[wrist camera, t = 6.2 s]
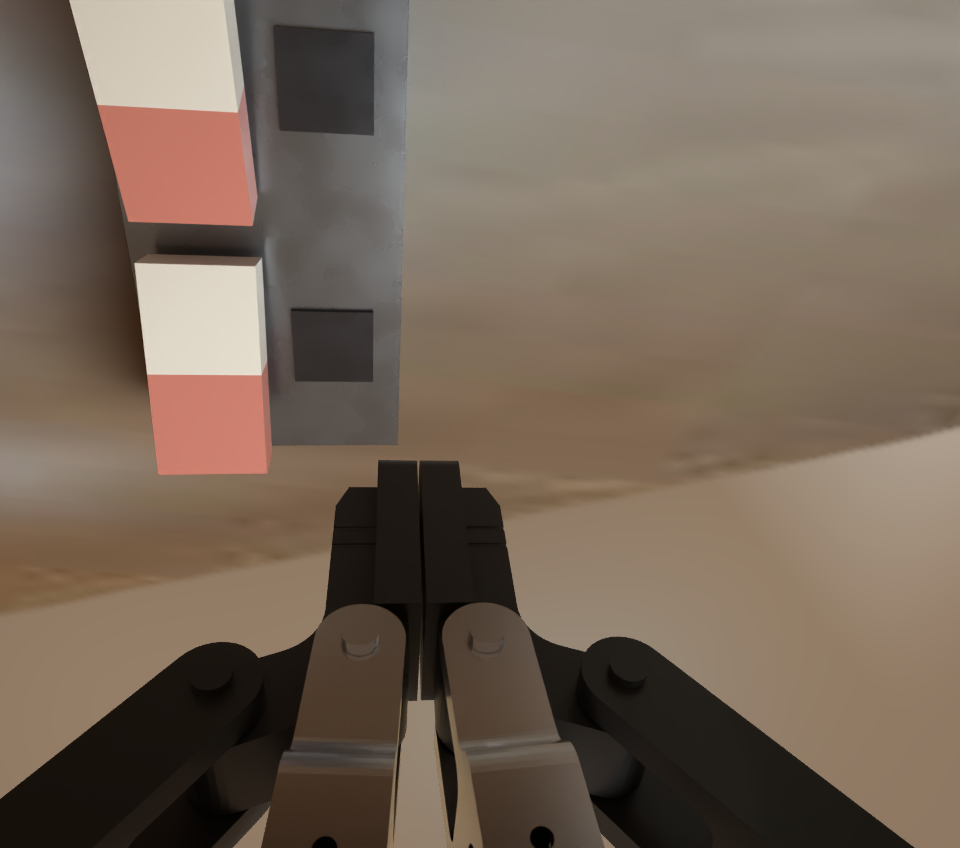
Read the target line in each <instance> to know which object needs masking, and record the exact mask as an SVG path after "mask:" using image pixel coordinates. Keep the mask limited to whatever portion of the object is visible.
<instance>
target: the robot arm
mask: <svg viewBox="0 0 960 848" xmlns="http://www.w3.org/2000/svg"><path fill="white" fill-rule="evenodd" d="M419 653H420V684H421V700H434V702H435V703H434V704H435V733H434V749H435V757H436V765H437V772H438V780H439V788H440V796H441V804H442V812H443V820H444V828H445V835H446V844H447V848H605V847H604V844H603V840H602V837H601V834H602V835H603V836H604V837H605V838H606V839H607V840H609V842H610V843H611V844H612V845H613V846H614V847H615V848H914V847H913V846H911V845H910V844H909V843H907V842H906V841H905V840H903V839H902V838H901V837H899V836H898V835H897V834H896V833H894V832H893V831H892V830H890V829H889V828H888V827H886V826H885V825H884V824H883V823H881V822H880V821H879V820H877V819H876V818H875V817H873V816H872V815H871V814H869V813H868V812H867V811H865V810H864V809H863V808H861V807H860V806H859V805H857V804H856V803H855V802H854V801H852V800H851V799H850V798H848V797H847V796H846V795H844V794H843V793H842V792H841V791H839V790H838V789H837V788H835V787H834V786H833V785H831V784H830V783H829V782H827V781H826V780H825V779H824V778H822V777H821V776H820V775H818V774H817V773H816V772H814V771H813V770H812V769H810V768H809V767H808V766H806V765H805V764H804V763H803V762H801V761H800V760H798V759H797V758H796V757H795V756H793V755H792V754H791V753H789V752H788V751H786V749H784V748H783V747H781V746H780V745H779V744H778V743H776V742H775V741H774V740H772V739H771V738H770V737H768V736H767V735H765V733H763V732H762V731H761V730H759V729H758V728H757V727H755V726H754V725H753V724H751V723H750V722H749V721H747V720H746V719H745V718H743V717H742V716H741V715H740V714H738V713H737V712H736V711H734V710H733V709H732V708H730V707H729V706H728V705H726V704H725V703H724V702H722V701H721V700H720V699H719V698H717V697H716V696H715V695H713V694H712V693H710V692H709V691H708V690H707V689H706V688H704V687H703V686H702V685H700V684H699V683H698V682H696V681H695V680H694V679H692V678H691V677H690V676H688V675H687V674H686V673H684V672H683V671H682V670H681V669H679V668H678V667H677V666H675V665H674V664H673V663H671V662H670V661H669V660H667V659H666V658H665V657H664V656H662V655H661V654H660V653H658V652H657V651H656V650H654V649H653V648H651V647H650V646H648V645H647V644H644V643H642V642H641V641H638V640H635V639H631V638H627V637H609V638H605V639H601V640H599V641H597V642H596V643H594V644H592V645H591V646H590V647H589V648H588V649H587V651H586V652H583V651H579V650H575V649H571V648H568V647H564V646H560V645H556V644H554V643H551V642H549V641H547V640H545V639H543V638H541V637H539V636H538V635H536V634H535V633H534V632H533V631H532V630H530V629H529V627H528V626H527V625H526V624H525V622H524V621H523V620H522V618H521V616H520V614H519V612H518V608H517V603H516V597H515V592H514V585H513V580H512V573H511V568H510V562H509V556H508V550H507V547H506V538H505V533H504V530H503V521H502V515H501V509H500V505H499V504H498V503H497V502H496V500H495V499H494V498H493V496H492V495H491V494H490V493H489V491H488V490H487V489H486V488H462V487H461V478H460V469H459V462H458V461H420V464H419V484H418V475H417V461H398V460H378V487H349V488H348V490H347V491H346V493H345V494H344V495H343V497H342V498H341V499H340V501H339V502H338V504H337V505H336V510H335V520H334V531H333V540H332V550H331V560H330V570H329V582H328V590H327V600H326V610H325V615H324V617H323V620H322V622H321V623H320V625H319V627H318V628H317V629H316V631H315V632H314V633H313V634H312V635H311V636H310V637H308V638H307V639H306V640H305V641H303V642H301V643H300V644H298V645H296V646H294V647H292V648H290V649H287V650H284V651H281V652H278V653H275V654H271V655H268V656H264V657H261V658H258V657H257V656H256V654H255V653H253V652H252V651H251V650H250V649H248V648H246V647H244V646H242V645H239V644H236V643H229V642H216V643H210V644H205V645H202V646H199V647H196V648H194V649H192V650H190V651H188V652H187V653H185V654H184V655H182V656H181V657H179V658H178V659H177V660H176V661H174V662H173V663H172V664H170V665H169V666H168V667H167V668H166V669H164V670H163V671H162V672H160V673H159V674H158V675H157V676H155V677H154V678H153V679H152V680H150V681H149V682H148V683H147V684H145V685H144V686H143V687H142V688H140V689H139V690H138V691H136V692H135V693H134V694H132V695H131V696H130V697H129V698H127V699H126V700H125V701H124V702H123V703H121V704H120V705H119V706H117V707H116V708H115V709H114V710H112V711H111V712H110V713H109V714H107V715H106V716H105V717H103V718H102V719H101V720H100V721H98V722H97V723H96V724H95V725H93V726H92V727H91V728H90V729H88V730H87V731H86V732H84V733H83V734H82V735H81V736H79V737H78V738H77V739H76V740H74V741H73V742H72V743H70V744H69V745H68V746H67V747H65V749H63V750H62V751H60V752H59V753H58V754H57V755H55V756H54V757H53V758H52V759H50V760H49V761H48V762H46V763H45V764H44V765H43V766H42V767H40V768H39V769H38V770H36V771H35V772H34V773H33V774H31V775H30V776H29V777H27V778H26V779H25V780H24V781H22V782H21V783H20V784H19V785H17V786H16V787H15V788H14V789H12V790H11V791H10V792H9V793H7V794H6V795H5V796H3V797H2V798H1V799H0V848H233V847H234V846H235V845H236V844H237V842H238V841H239V840H240V839H241V838H242V837H243V836H244V835H245V834H246V833H247V832H248V831H249V830H250V829H251V827H252V826H253V825H254V824H255V823H256V822H257V821H258V820H259V819H260V818H261V817H262V815H263V814H264V813H265V812H266V810H267V809H268V808H269V806H270V809H269V814H268V818H267V823H266V827H265V832H264V837H263V841H262V846H261V848H394V841H395V827H396V814H397V801H398V788H399V775H400V762H401V749H402V741H403V738H404V736H405V733H406V725H407V703H408V701H417V690H418V672H419V671H418V670H419ZM600 833H601V834H600Z"/></svg>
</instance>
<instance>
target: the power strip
mask: <svg viewBox="0 0 960 848" xmlns="http://www.w3.org/2000/svg"><path fill="white" fill-rule="evenodd" d="M234 5H235V14H236V22H237V30H238V38H239V47H240V55H241V63H242V72H243V80H244V88H245V97H246V105H247V113H248V122H249V130H250V138H251V147H252V155H253V163H254V172H255V180H256V188H257V203H256V209H255V215H254V221H253V226H237V225H209V224H180V223H151V222H128V218H127V214H126V210H125V207H124V203H123V199H122V195H121V192H120V188H119V184H118V181H117V177H116V173H115V169H114V174H115V179H116V185H117V190H118V196H119V201H120V207H121V212H122V217H123V223H124V228H125V234H126V239H127V245H128V250H129V256H130V261H131V267H132V272H133V278H134V283H135V289H136V294H137V300H138V305H139V299H138V290H137V281H136V272H135V264H134V263H135V262H137V261H138V260H140V259H141V258H143V257H144V256H146V255H147V254H166V255H201V256H235V257H262V269H263V289H264V308H265V327H266V346H267V365H268V385H269V404H270V423H271V442H272V445H398V409H399V370H400V331H401V292H402V253H403V214H404V175H405V136H406V98H407V59H408V20H409V0H234ZM112 163H113V162H112ZM113 168H114V166H113ZM139 311H140V308H139Z"/></svg>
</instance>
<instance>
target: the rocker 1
mask: <svg viewBox="0 0 960 848" xmlns="http://www.w3.org/2000/svg"><path fill="white" fill-rule="evenodd" d="M69 1H70V5H71V9H72V12H73V16H74V20H75V24H76V27H77V31H78V35H79V39H80V42H81V46H82V50H83V54H84V57H85V61H86V65H87V68H88V72H89V76H90V80H91V83H92V87H93V91H94V95H95V98H96V102H97V106H98V110H99V113H100V117H101V121H102V124H103V128H104V132H105V136H106V139H107V143H108V147H109V151H110V154H111V158H112V162H113V166H114V169H115V173H116V177H117V181H118V184H119V188H120V192H121V195H122V199H123V203H124V207H125V210H126V214H127V218H128V222H151V223H180V224H209V225H237V226H253V221H254V215H255V209H256V203H257V188H256V180H255V172H254V163H253V155H252V147H251V138H250V130H249V122H248V113H247V105H246V97H245V88H244V80H243V72H242V63H241V55H240V47H239V38H238V30H237V22H236V14H235V5H234V0H69Z"/></svg>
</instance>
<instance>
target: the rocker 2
mask: <svg viewBox="0 0 960 848" xmlns="http://www.w3.org/2000/svg"><path fill="white" fill-rule="evenodd" d="M134 264H135V272H136V281H137V290H138V299H139V308H140V316H141V325H142V334H143V343H144V351H145V360H146V369H147V378H148V387H149V395H150V404H151V413H152V422H153V430H154V439H155V448H156V457H157V466H158V474H159V475H168V474H262V473H267V471H268V468H269V464H270V460H271V457H272V442H271V423H270V404H269V385H268V365H267V346H266V327H265V308H264V289H263V269H262V257H235V256H201V255H166V254H147V255H146V256H144V257H143V258H141V259H140V260H138V261H137V262H135V263H134Z"/></svg>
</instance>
